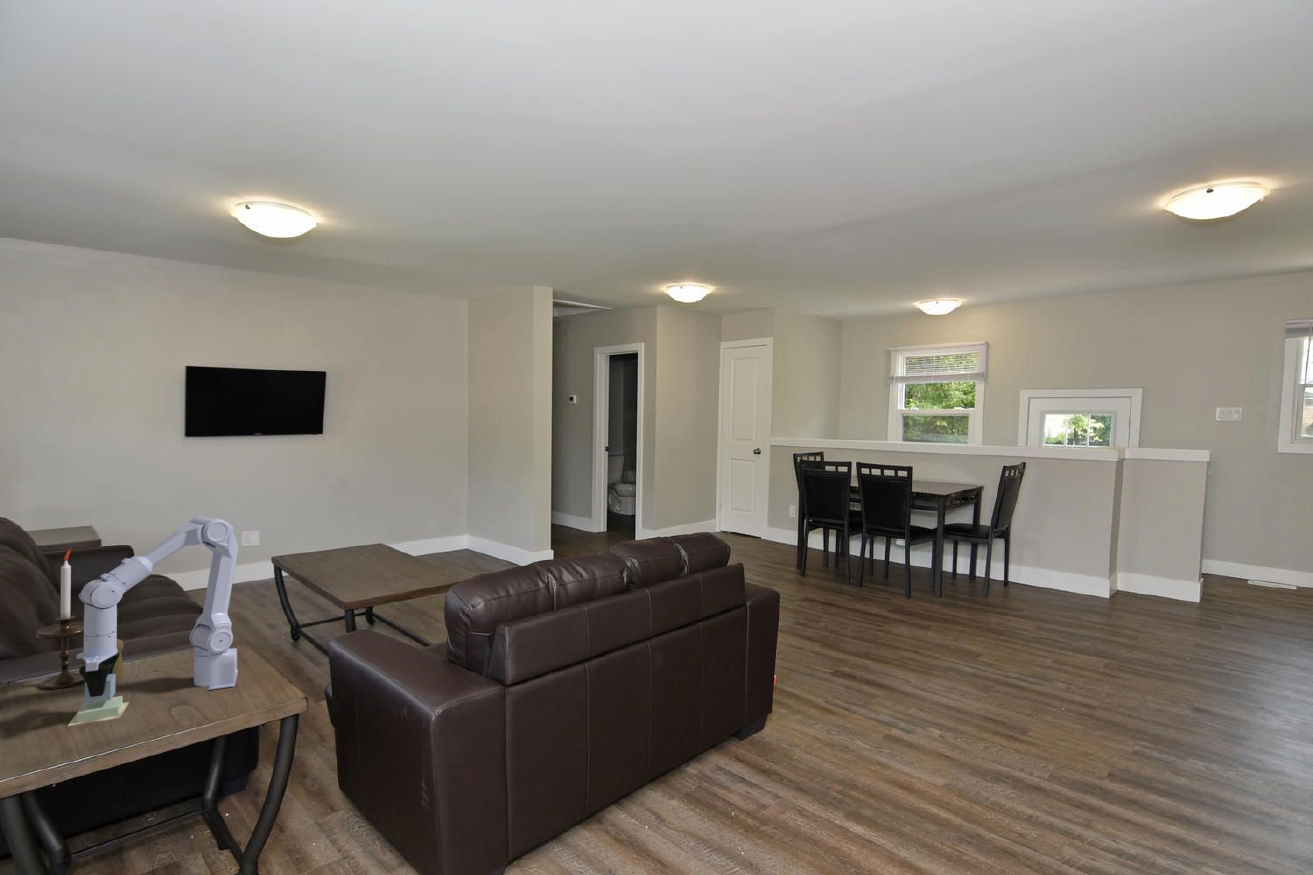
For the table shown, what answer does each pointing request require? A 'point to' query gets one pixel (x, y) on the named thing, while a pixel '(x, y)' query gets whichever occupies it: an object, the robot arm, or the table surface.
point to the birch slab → (74, 720)
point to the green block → (100, 709)
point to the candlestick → (63, 635)
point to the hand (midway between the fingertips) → (99, 691)
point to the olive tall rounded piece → (119, 664)
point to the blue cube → (107, 693)
